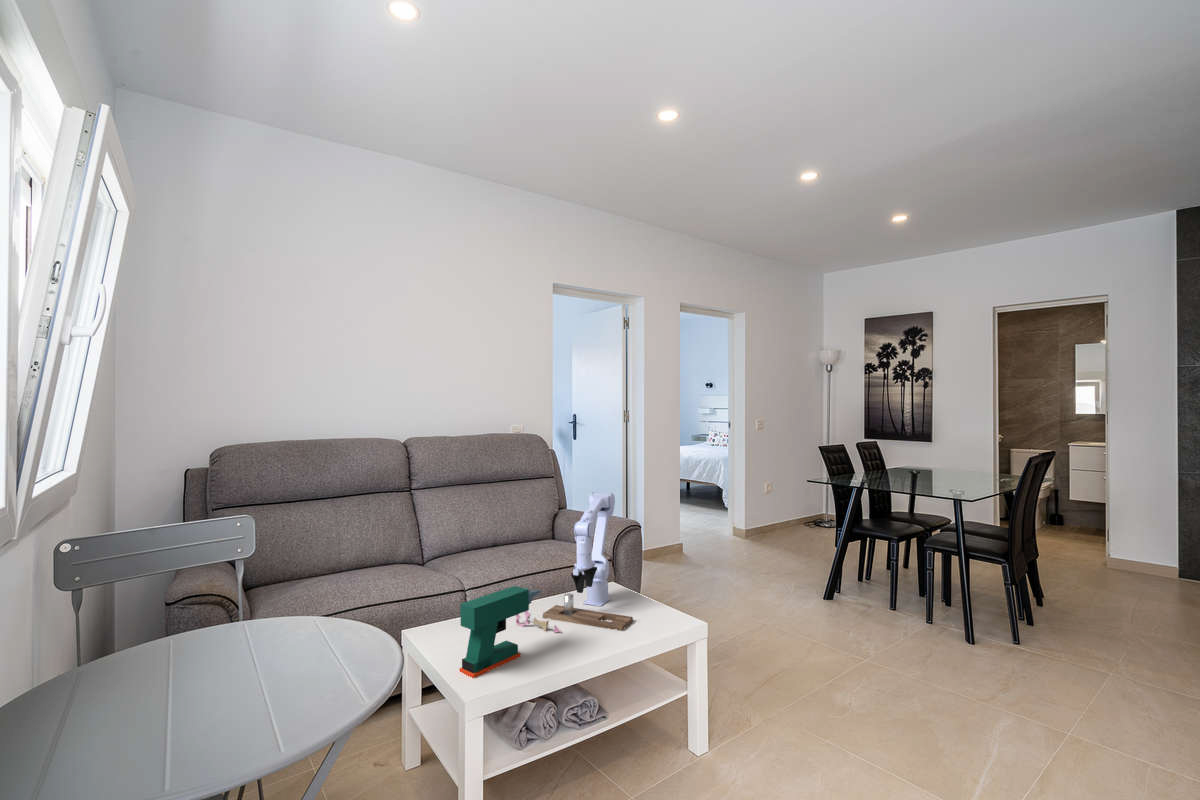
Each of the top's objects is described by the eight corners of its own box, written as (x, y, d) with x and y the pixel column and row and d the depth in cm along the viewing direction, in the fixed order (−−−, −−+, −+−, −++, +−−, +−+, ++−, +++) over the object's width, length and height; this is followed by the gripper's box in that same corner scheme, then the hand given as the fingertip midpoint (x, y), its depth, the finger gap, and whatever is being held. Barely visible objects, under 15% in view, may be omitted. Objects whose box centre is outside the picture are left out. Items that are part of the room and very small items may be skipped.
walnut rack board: (556, 608, 221) (555, 605, 221) (632, 621, 208) (632, 616, 208) (542, 617, 212) (542, 613, 212) (622, 630, 199) (622, 626, 199)
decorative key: (559, 643, 196) (513, 623, 206) (561, 641, 197) (515, 622, 207) (562, 624, 196) (515, 605, 205) (563, 622, 197) (517, 604, 206)
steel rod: (567, 614, 216) (567, 592, 216) (575, 615, 214) (575, 594, 214) (562, 617, 213) (561, 595, 213) (570, 618, 211) (570, 597, 211)
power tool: (535, 637, 194) (535, 578, 194) (550, 642, 190) (550, 582, 190) (458, 671, 169) (457, 603, 170) (473, 678, 165) (472, 608, 165)
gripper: (583, 547, 224) (583, 582, 223) (565, 556, 210) (566, 593, 210) (599, 549, 221) (600, 584, 220) (582, 558, 207) (583, 596, 207)
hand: (584, 589), depth 215 cm, fingers open, 7 cm apart
